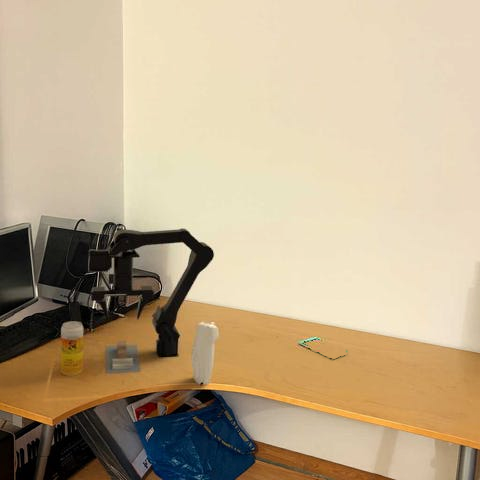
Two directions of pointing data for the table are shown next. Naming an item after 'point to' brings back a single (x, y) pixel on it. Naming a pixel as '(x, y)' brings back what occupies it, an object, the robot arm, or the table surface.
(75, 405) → the table surface
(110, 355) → the tool mat
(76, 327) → the yellow cylindrical bottle
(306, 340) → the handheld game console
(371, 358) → the table surface
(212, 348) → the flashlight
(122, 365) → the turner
